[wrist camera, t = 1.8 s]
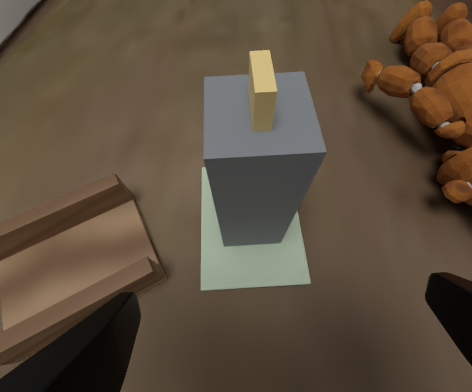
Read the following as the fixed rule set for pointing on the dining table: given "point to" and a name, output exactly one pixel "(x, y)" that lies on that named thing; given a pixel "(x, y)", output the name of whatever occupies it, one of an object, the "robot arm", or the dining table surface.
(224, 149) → the slate block
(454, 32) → the toy
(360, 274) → the dining table surface
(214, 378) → the dining table surface
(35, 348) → the walnut rack
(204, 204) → the sage mat
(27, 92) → the dining table surface
